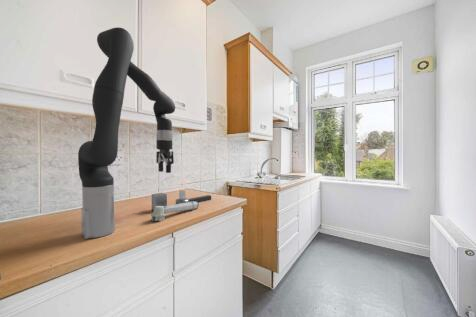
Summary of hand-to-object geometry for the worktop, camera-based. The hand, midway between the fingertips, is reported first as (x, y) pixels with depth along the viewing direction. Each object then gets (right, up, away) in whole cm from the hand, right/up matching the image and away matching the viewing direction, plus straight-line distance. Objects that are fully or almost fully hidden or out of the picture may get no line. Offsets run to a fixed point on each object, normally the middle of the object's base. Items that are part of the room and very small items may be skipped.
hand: (164, 172), depth 100 cm
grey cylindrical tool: (+8, -20, -7) cm, 22 cm away
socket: (-3, -19, +1) cm, 19 cm away
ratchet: (+12, -19, +15) cm, 27 cm away
